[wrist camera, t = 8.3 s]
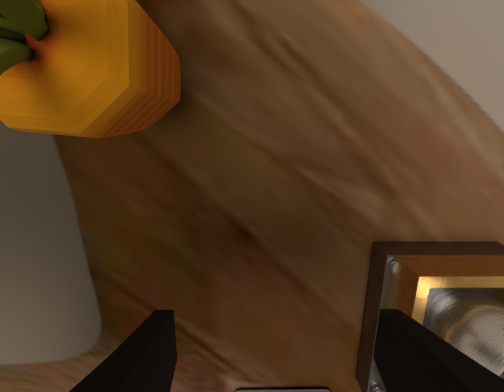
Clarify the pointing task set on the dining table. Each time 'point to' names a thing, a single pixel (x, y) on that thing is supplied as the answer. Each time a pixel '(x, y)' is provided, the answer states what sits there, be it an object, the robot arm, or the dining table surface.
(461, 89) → the dining table surface
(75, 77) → the carrot
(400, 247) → the grey and gold fixture
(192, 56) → the dining table surface
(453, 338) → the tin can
